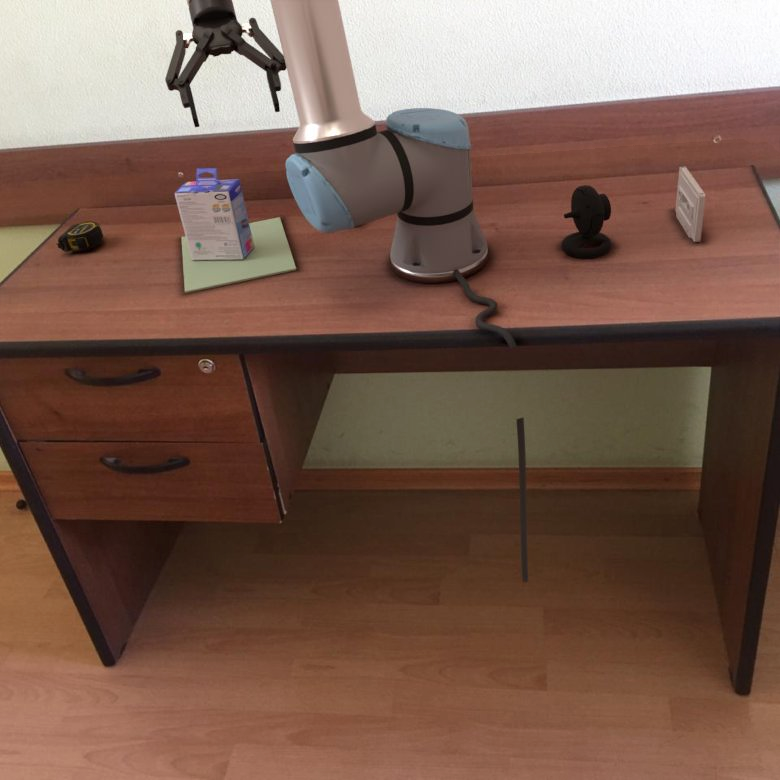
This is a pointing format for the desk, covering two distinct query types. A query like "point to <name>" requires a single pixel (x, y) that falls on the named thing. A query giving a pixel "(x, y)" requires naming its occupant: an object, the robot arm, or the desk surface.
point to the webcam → (587, 223)
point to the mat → (260, 262)
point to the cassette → (690, 204)
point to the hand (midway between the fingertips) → (237, 115)
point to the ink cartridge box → (214, 218)
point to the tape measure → (81, 237)
